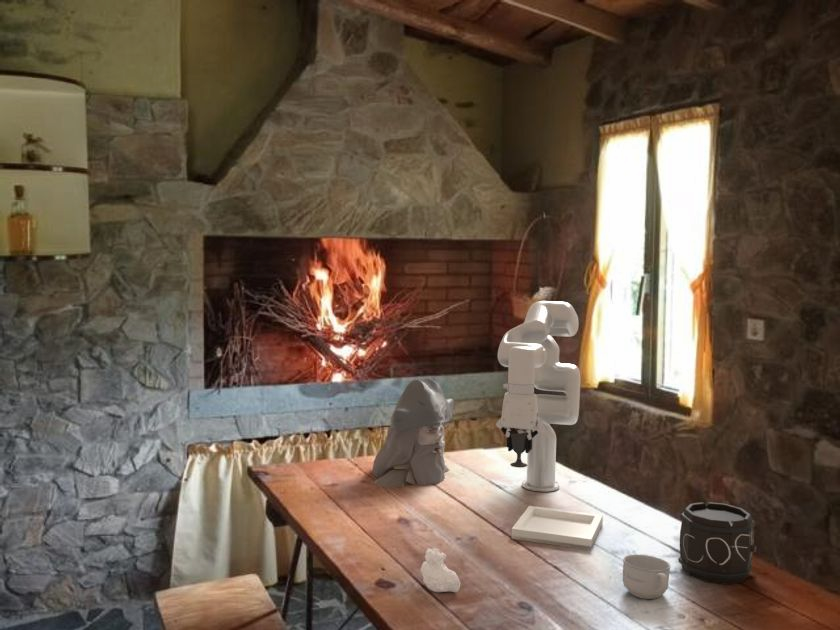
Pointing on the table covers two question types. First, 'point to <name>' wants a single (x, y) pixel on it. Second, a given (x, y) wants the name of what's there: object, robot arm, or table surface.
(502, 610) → the table surface
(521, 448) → the sundae
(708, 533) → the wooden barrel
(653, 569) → the teacup
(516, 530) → the tray
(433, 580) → the cream lumpy figure
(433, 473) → the bust
